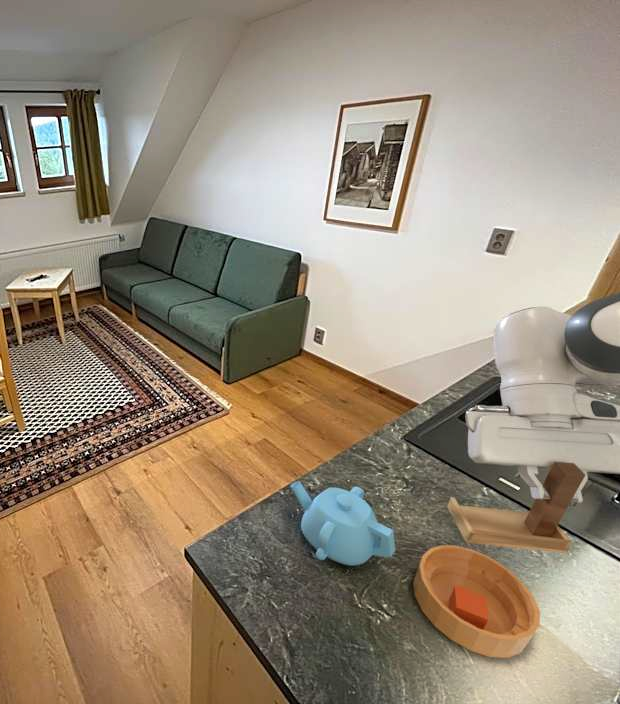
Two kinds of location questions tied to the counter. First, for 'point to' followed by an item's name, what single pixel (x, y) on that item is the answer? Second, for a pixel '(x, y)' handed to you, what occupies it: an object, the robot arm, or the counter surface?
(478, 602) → the block
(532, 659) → the counter surface
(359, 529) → the teapot
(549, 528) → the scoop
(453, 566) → the bowl
